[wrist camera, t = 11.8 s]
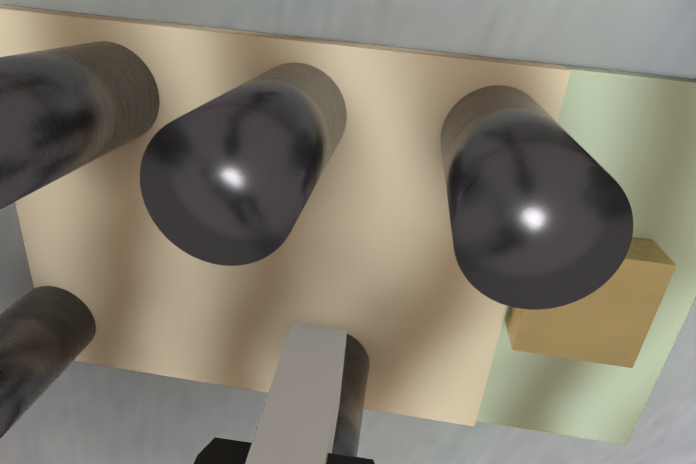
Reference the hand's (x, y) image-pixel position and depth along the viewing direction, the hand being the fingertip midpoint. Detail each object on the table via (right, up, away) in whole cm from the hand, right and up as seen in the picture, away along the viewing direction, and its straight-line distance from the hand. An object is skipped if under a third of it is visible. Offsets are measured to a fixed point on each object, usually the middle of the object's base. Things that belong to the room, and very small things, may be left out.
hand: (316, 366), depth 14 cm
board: (+1, +3, +8) cm, 9 cm away
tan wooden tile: (+10, +2, +6) cm, 12 cm away
